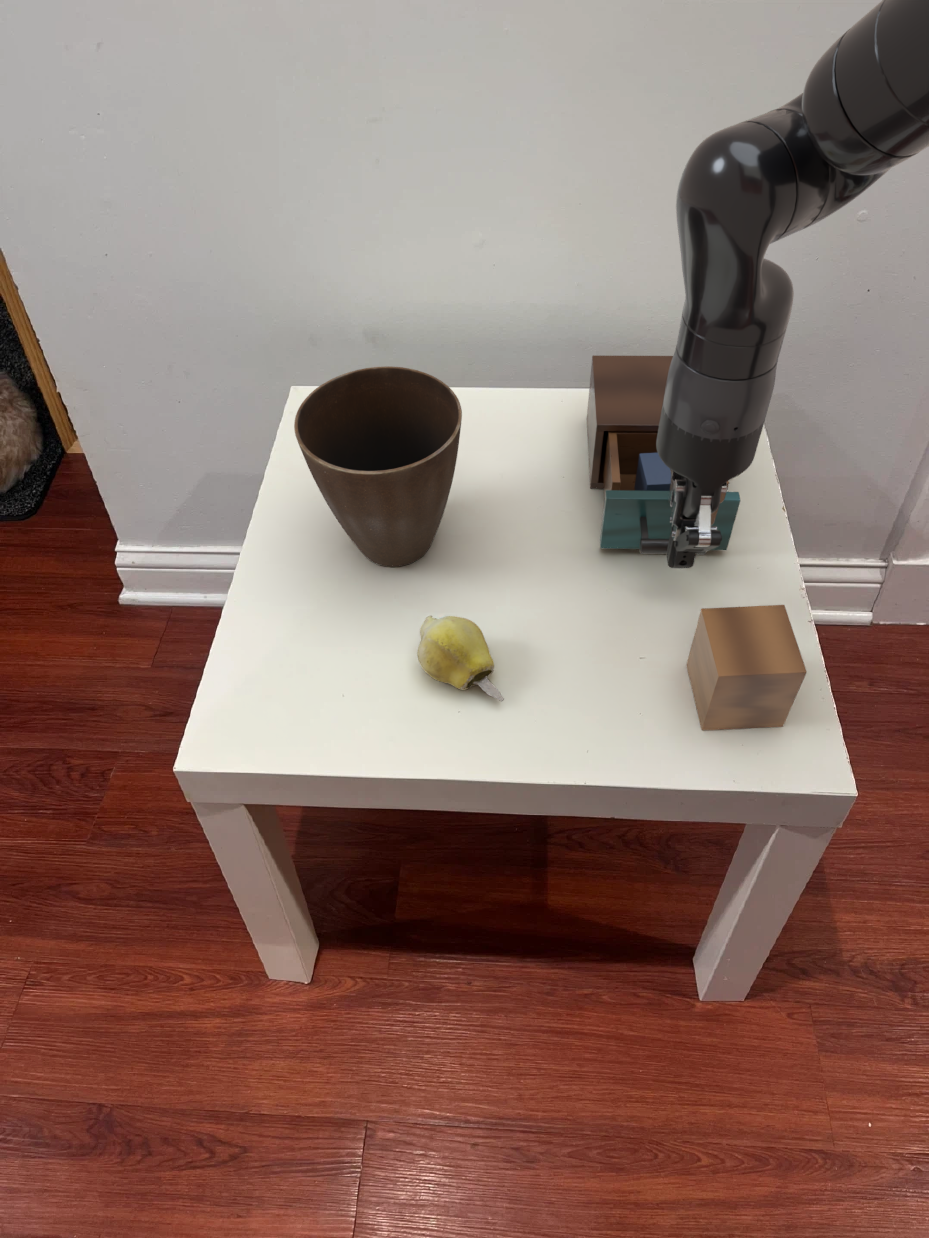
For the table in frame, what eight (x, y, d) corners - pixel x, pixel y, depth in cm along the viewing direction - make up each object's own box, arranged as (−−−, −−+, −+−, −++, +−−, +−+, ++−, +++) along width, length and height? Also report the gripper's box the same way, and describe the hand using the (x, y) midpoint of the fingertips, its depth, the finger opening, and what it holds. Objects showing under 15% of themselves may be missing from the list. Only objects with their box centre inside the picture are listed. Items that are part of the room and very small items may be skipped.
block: (678, 485, 95) (685, 450, 92) (687, 516, 93) (694, 482, 89) (634, 487, 95) (639, 453, 92) (641, 518, 93) (647, 484, 89)
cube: (763, 661, 83) (784, 604, 77) (783, 726, 79) (807, 672, 73) (686, 664, 84) (701, 608, 77) (701, 730, 79) (718, 676, 73)
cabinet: (719, 490, 98) (735, 426, 91) (590, 488, 98) (596, 424, 92) (706, 420, 105) (720, 355, 98) (586, 419, 106) (592, 355, 99)
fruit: (479, 729, 80) (393, 662, 83) (517, 696, 84) (434, 633, 87) (498, 685, 76) (408, 616, 79) (537, 653, 80) (450, 588, 83)
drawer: (732, 583, 88) (747, 533, 83) (602, 581, 89) (608, 531, 84) (714, 478, 98) (726, 427, 92) (596, 476, 98) (601, 426, 93)
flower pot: (325, 606, 89) (296, 483, 77) (317, 500, 99) (291, 375, 86) (477, 585, 90) (474, 461, 78) (455, 483, 100) (449, 357, 87)
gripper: (782, 463, 64) (732, 621, 77) (753, 350, 72) (712, 510, 85) (672, 462, 64) (641, 619, 77) (656, 349, 72) (631, 508, 86)
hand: (678, 561), depth 81 cm, fingers closed
